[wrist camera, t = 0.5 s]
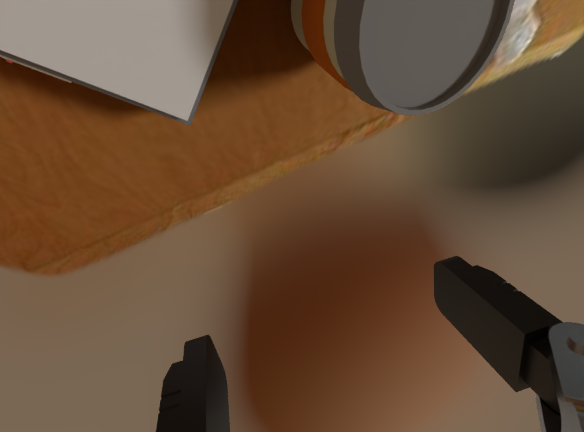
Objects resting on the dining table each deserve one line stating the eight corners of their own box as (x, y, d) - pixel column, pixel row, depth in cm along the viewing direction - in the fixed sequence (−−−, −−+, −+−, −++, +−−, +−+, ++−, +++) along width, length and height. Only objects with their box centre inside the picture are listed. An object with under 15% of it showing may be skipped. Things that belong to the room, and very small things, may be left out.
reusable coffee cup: (248, 31, 31) (316, 61, 20) (322, -118, 27) (459, -187, 16) (340, 96, 38) (429, 146, 27) (409, -15, 35) (547, -11, 23)
